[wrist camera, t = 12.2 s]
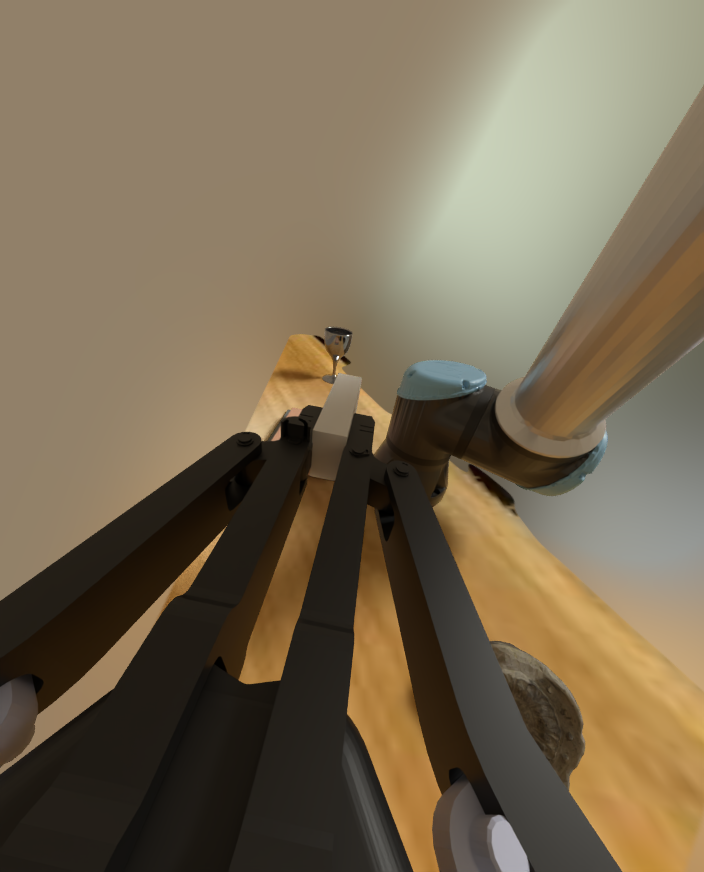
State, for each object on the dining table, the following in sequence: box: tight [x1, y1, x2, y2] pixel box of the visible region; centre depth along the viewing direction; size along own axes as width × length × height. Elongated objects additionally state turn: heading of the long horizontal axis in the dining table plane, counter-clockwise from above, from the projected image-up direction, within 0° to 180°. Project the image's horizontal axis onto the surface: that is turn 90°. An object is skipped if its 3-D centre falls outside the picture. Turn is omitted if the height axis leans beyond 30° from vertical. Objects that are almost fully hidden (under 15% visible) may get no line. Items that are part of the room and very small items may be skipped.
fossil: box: [490, 641, 585, 791], centre depth 26 cm, size 11×9×10 cm
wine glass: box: [322, 327, 352, 384], centre depth 82 cm, size 8×8×15 cm
